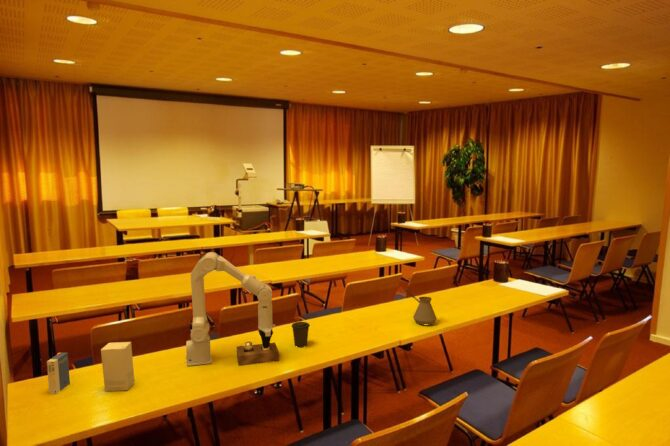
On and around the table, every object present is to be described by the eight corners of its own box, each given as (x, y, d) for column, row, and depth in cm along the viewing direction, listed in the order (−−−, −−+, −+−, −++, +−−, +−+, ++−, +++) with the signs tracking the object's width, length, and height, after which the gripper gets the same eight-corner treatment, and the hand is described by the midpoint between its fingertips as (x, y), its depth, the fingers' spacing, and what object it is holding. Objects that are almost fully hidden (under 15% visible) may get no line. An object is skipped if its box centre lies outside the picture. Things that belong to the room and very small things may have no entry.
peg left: (245, 354, 182) (245, 344, 182) (244, 351, 185) (244, 341, 185) (252, 353, 183) (252, 343, 182) (252, 350, 186) (251, 341, 185)
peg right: (262, 358, 184) (262, 349, 184) (261, 355, 187) (261, 346, 187) (270, 357, 185) (270, 348, 185) (269, 354, 188) (269, 345, 188)
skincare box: (135, 382, 164) (132, 341, 162) (127, 391, 158) (124, 348, 156) (111, 383, 164) (109, 341, 162) (102, 392, 157) (100, 348, 156)
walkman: (62, 383, 164) (59, 351, 162) (70, 383, 164) (67, 351, 162) (48, 394, 156) (45, 360, 155) (56, 394, 156) (54, 360, 155)
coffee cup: (307, 349, 195) (307, 326, 194) (289, 347, 196) (288, 325, 195) (312, 342, 203) (311, 320, 201) (294, 340, 204) (294, 319, 203)
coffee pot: (441, 323, 227) (442, 294, 225) (425, 328, 220) (426, 298, 218) (410, 313, 244) (410, 286, 242) (394, 317, 237) (395, 289, 235)
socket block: (238, 365, 178) (238, 356, 178) (236, 355, 188) (236, 346, 187) (279, 360, 183) (278, 351, 182) (275, 351, 192) (274, 342, 192)
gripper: (278, 319, 178) (278, 353, 180) (272, 309, 192) (273, 340, 194) (259, 321, 176) (260, 355, 178) (255, 310, 190) (256, 341, 192)
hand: (265, 347), depth 186 cm, fingers closed, pressing on peg right
